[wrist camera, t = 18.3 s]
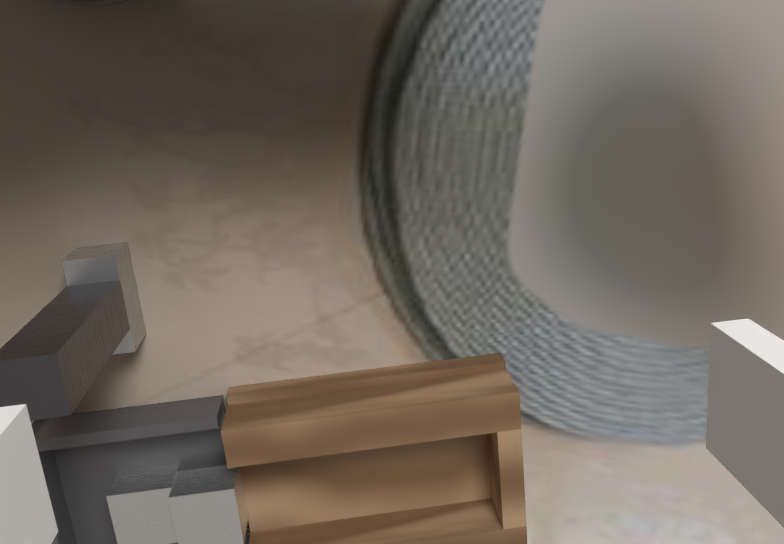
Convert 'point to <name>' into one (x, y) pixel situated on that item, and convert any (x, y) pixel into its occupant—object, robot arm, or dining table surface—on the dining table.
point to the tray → (120, 456)
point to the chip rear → (143, 505)
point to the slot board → (382, 455)
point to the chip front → (209, 506)
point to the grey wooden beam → (74, 334)
